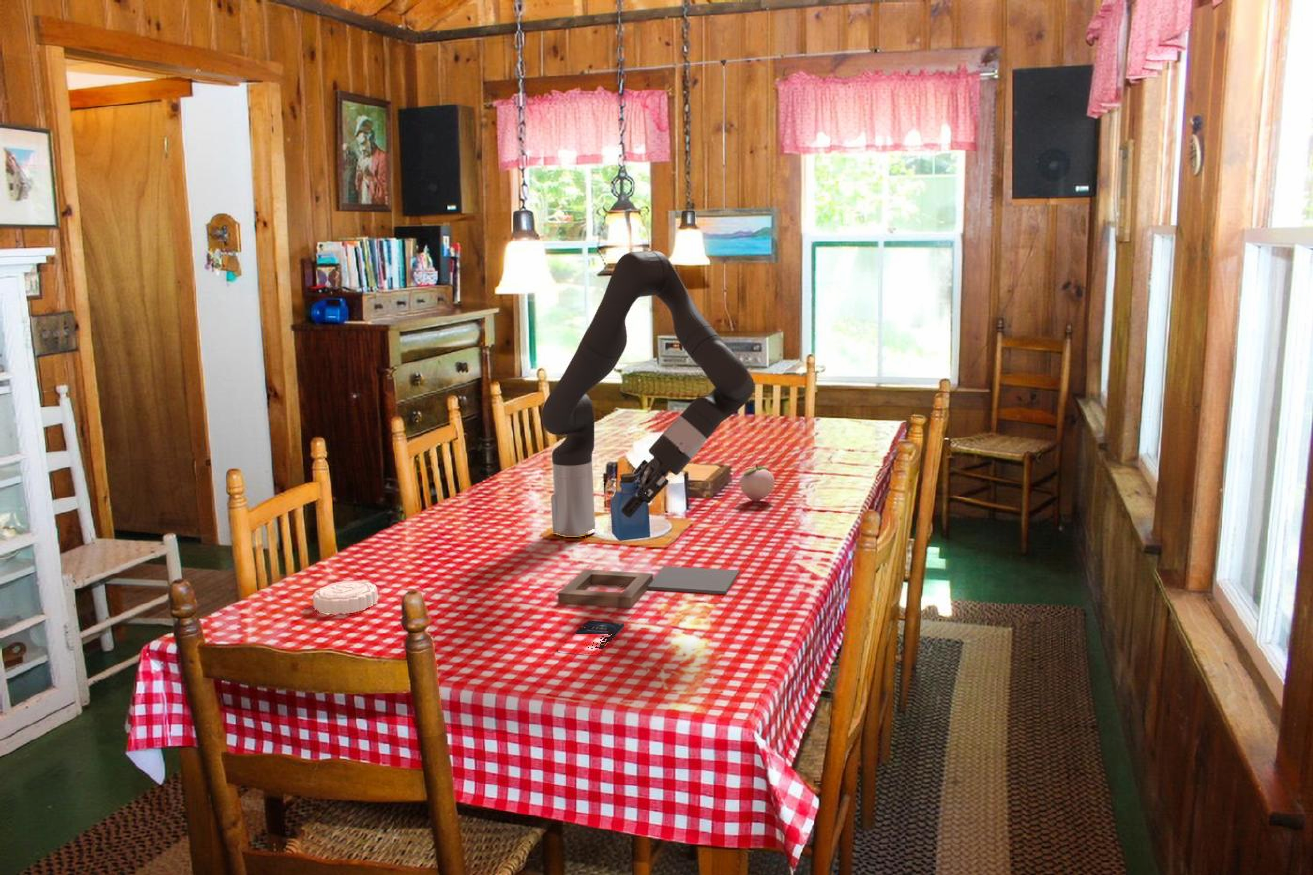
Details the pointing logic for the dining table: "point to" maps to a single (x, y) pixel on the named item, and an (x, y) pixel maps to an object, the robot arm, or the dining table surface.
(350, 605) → the mooncake
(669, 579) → the rubber mat
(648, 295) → the robot arm
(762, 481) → the decorative fruit
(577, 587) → the block
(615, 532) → the perfume bottle
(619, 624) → the smartphone
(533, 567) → the dining table surface
